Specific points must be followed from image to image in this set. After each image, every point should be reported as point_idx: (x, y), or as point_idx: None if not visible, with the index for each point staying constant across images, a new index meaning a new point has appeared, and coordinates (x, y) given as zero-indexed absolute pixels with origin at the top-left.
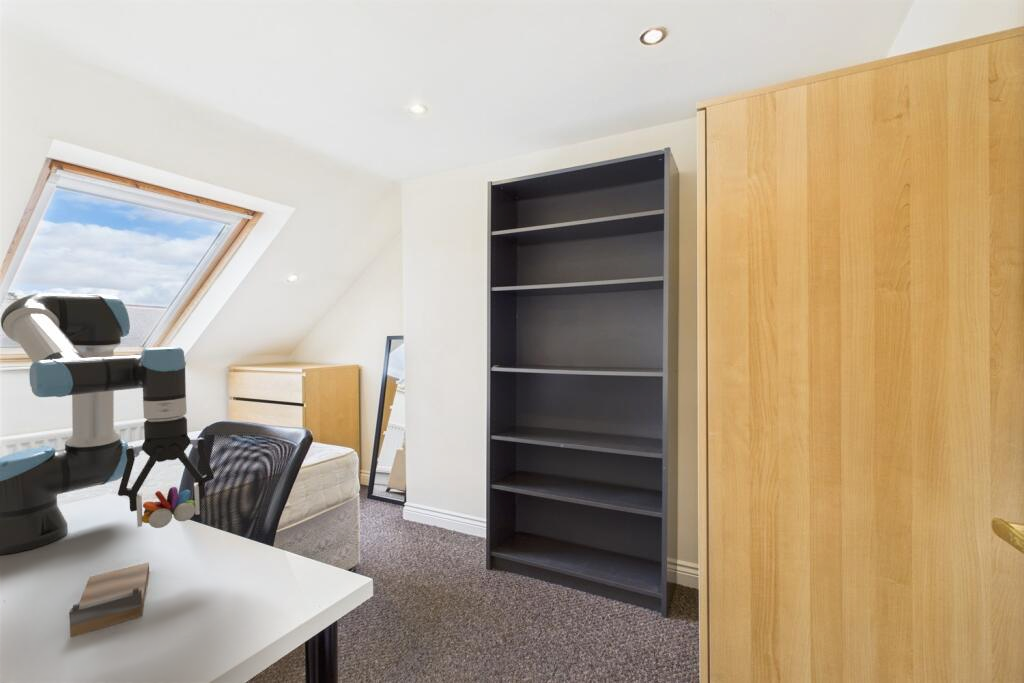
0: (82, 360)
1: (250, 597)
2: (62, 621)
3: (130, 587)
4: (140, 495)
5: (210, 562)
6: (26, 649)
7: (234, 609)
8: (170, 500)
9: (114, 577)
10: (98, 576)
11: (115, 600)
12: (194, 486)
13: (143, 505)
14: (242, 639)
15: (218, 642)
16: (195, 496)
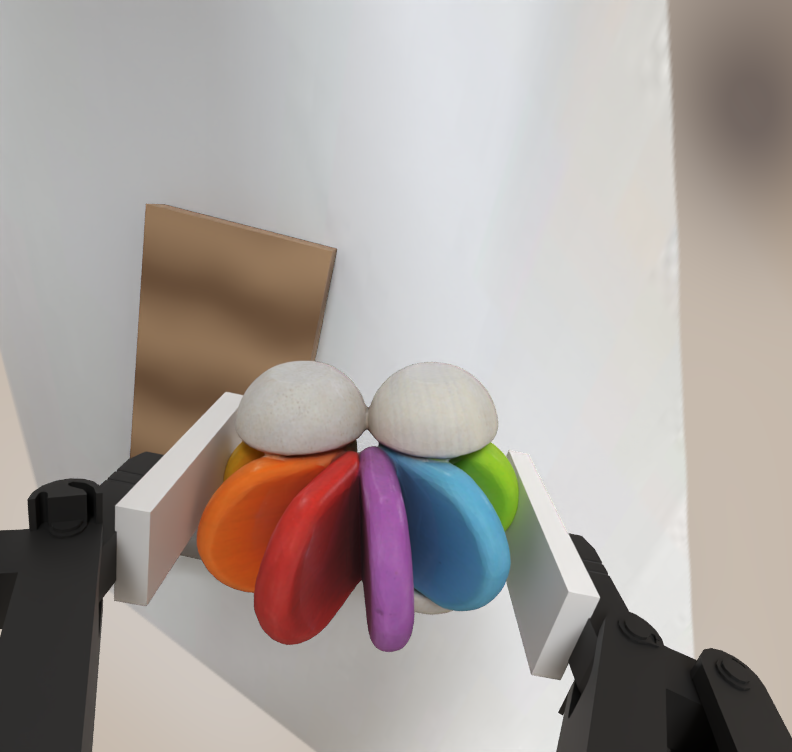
0: None
1: (491, 630)
2: (116, 400)
3: None
4: (144, 587)
5: (505, 356)
6: (63, 475)
7: (445, 647)
8: (364, 571)
9: (221, 290)
10: (174, 232)
11: None
12: (539, 641)
13: (199, 552)
14: (416, 738)
15: (381, 718)
16: (514, 599)
